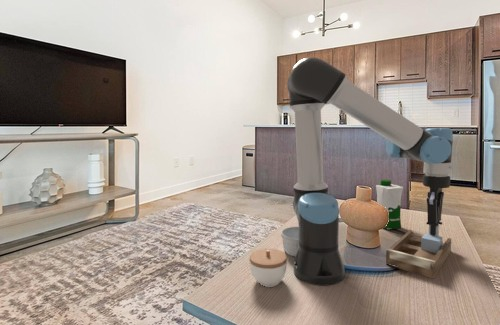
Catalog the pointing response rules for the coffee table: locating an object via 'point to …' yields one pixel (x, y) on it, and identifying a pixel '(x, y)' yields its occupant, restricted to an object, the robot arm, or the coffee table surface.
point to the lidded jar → (268, 266)
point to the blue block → (431, 243)
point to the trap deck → (417, 256)
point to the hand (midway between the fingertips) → (433, 242)
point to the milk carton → (390, 201)
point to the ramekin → (290, 240)
